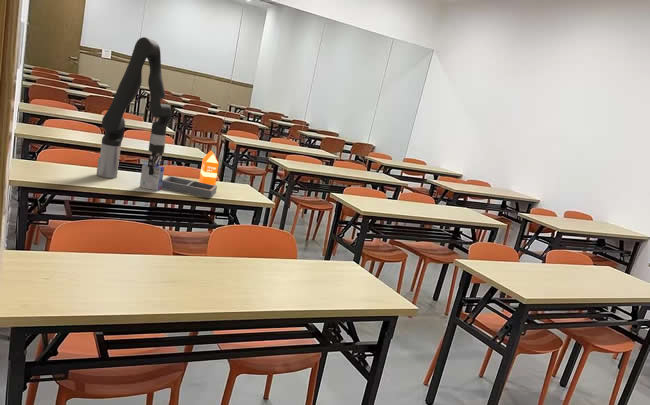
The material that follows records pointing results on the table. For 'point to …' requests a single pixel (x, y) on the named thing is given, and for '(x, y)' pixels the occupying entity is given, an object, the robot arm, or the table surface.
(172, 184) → the grey divided tray
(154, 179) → the ink cartridge box
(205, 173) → the orange juice
